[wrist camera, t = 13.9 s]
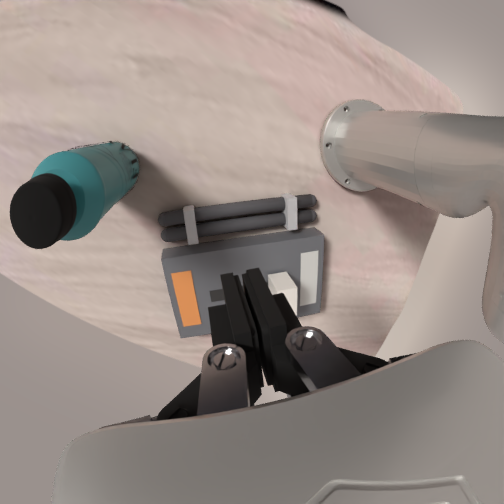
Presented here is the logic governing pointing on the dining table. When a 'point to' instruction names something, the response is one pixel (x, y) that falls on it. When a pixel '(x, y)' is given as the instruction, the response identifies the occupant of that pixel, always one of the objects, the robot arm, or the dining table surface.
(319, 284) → the panel
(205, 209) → the dressed cords
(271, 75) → the dining table surface
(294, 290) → the block
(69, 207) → the beverage bottle
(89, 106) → the dining table surface
